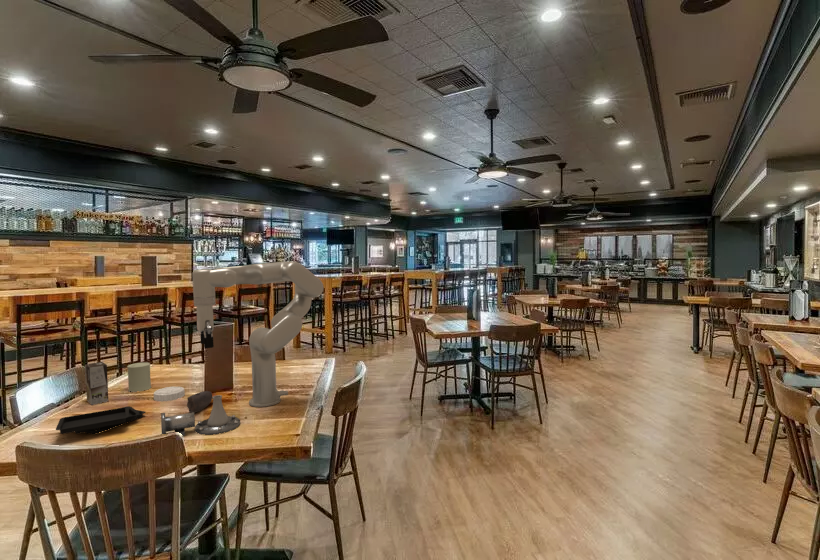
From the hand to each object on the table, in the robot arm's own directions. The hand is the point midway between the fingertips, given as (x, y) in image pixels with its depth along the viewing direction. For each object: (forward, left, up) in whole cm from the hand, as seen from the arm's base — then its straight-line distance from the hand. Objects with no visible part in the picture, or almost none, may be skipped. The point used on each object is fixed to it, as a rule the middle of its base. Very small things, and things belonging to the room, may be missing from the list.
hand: (207, 345), depth 167 cm
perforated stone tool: (+2, -10, -28) cm, 30 cm away
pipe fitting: (+3, +14, -27) cm, 31 cm away
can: (+25, -55, -28) cm, 67 cm away
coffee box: (+40, -44, -28) cm, 66 cm away
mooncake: (+13, -34, -28) cm, 46 cm away
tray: (+35, -7, -28) cm, 45 cm away
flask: (-2, +14, -27) cm, 30 cm away
